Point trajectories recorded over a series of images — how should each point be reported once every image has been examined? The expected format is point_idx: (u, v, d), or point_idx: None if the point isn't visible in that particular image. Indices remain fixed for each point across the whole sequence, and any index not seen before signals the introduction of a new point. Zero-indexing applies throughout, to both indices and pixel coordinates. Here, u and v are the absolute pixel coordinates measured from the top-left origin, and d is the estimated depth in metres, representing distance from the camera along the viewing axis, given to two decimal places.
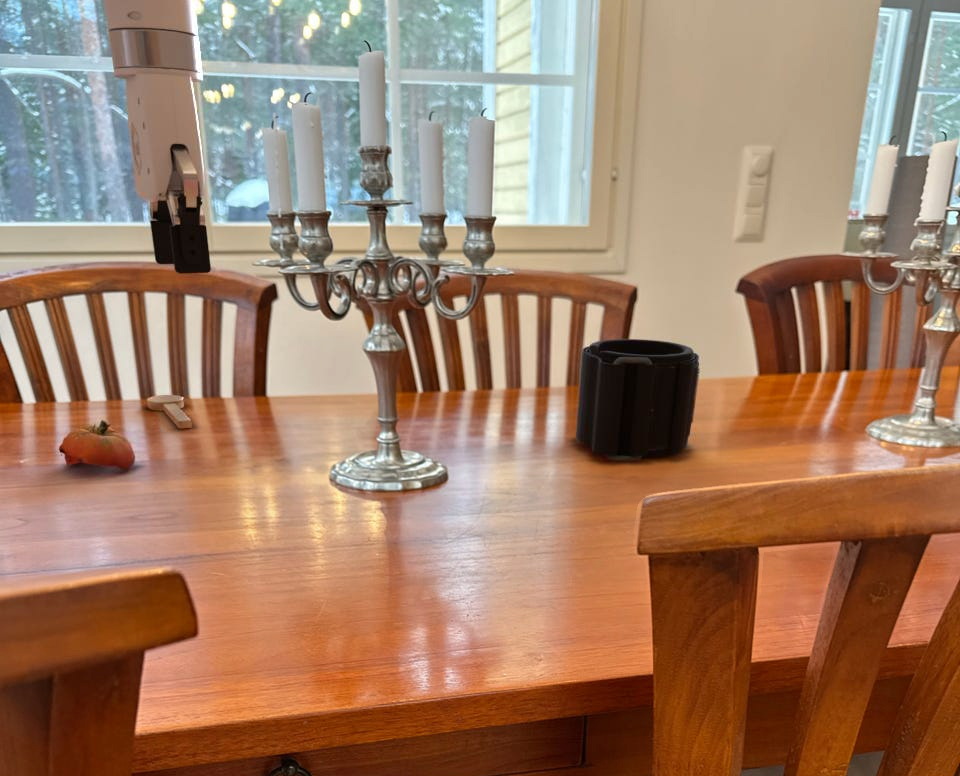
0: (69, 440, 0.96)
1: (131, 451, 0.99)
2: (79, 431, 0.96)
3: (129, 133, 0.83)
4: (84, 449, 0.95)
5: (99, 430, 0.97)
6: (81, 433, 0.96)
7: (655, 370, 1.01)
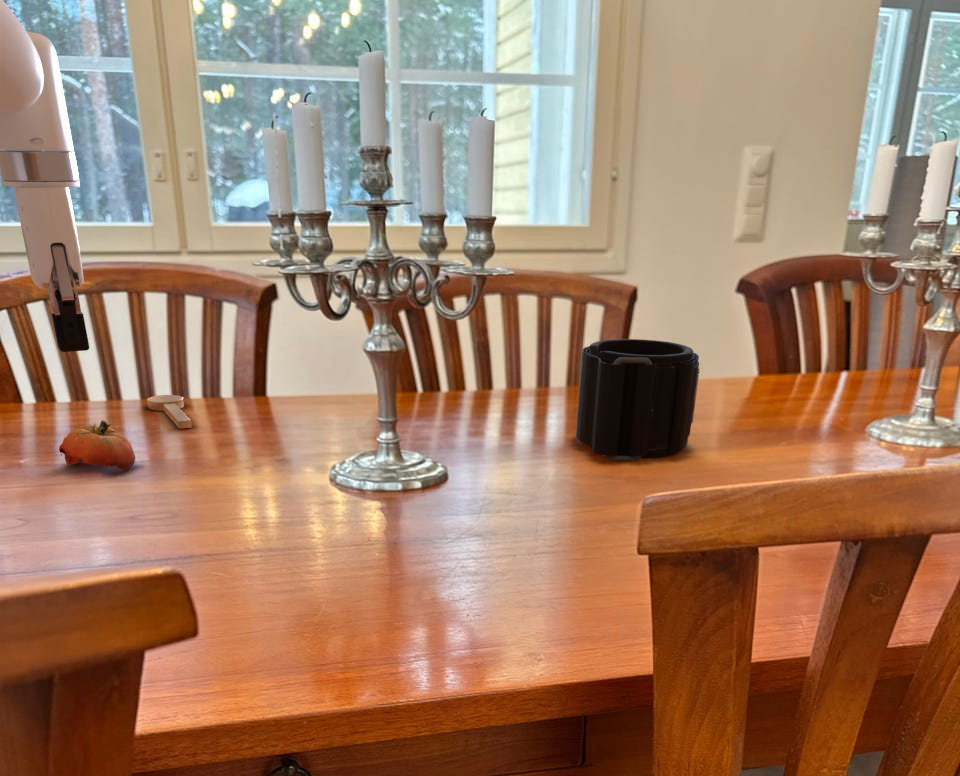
0: (69, 439, 0.96)
1: (131, 451, 0.99)
2: (79, 431, 0.96)
3: None
4: (84, 449, 0.95)
5: (99, 430, 0.97)
6: (81, 433, 0.96)
7: (655, 370, 1.01)
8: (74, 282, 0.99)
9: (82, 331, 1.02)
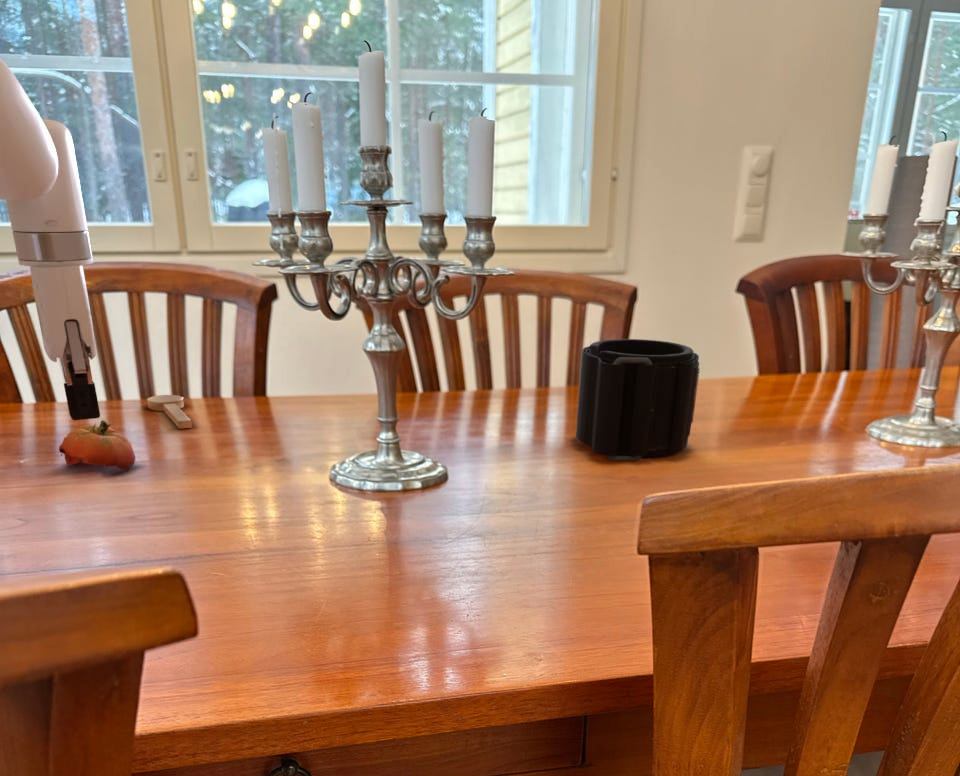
0: (69, 440, 0.96)
1: (131, 451, 0.99)
2: (79, 431, 0.96)
3: None
4: (84, 449, 0.95)
5: (99, 430, 0.97)
6: (81, 433, 0.96)
7: (655, 370, 1.01)
8: (86, 354, 1.01)
9: (93, 400, 1.05)
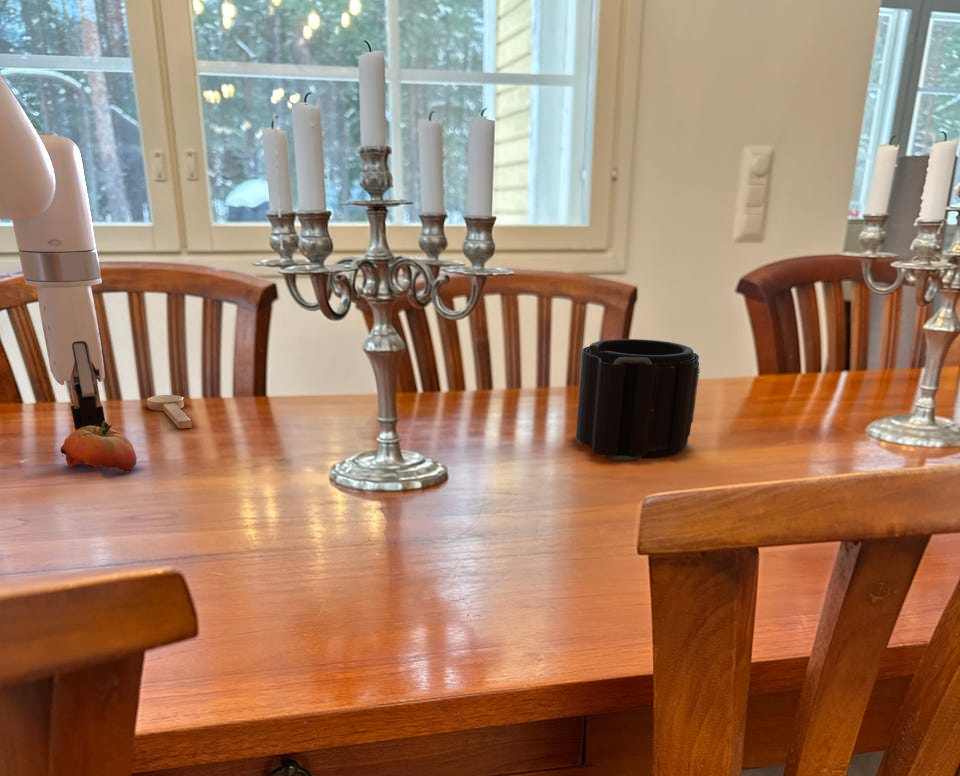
0: (71, 441, 0.95)
1: (133, 452, 0.98)
2: (80, 432, 0.96)
3: None
4: (85, 450, 0.95)
5: (101, 431, 0.97)
6: (82, 434, 0.96)
7: (655, 370, 1.01)
8: (94, 377, 0.98)
9: (101, 423, 1.02)
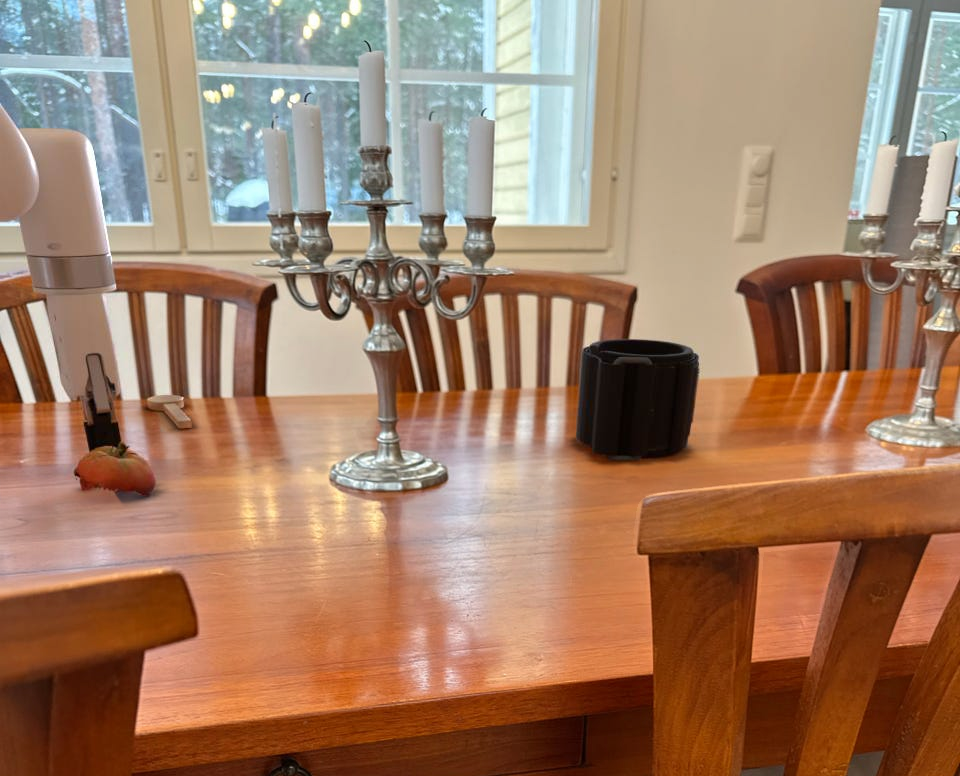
0: (85, 463, 0.88)
1: (151, 475, 0.91)
2: (96, 453, 0.89)
3: None
4: (100, 474, 0.88)
5: (117, 452, 0.90)
6: (98, 456, 0.89)
7: (655, 370, 1.01)
8: (109, 391, 0.91)
9: (116, 440, 0.94)
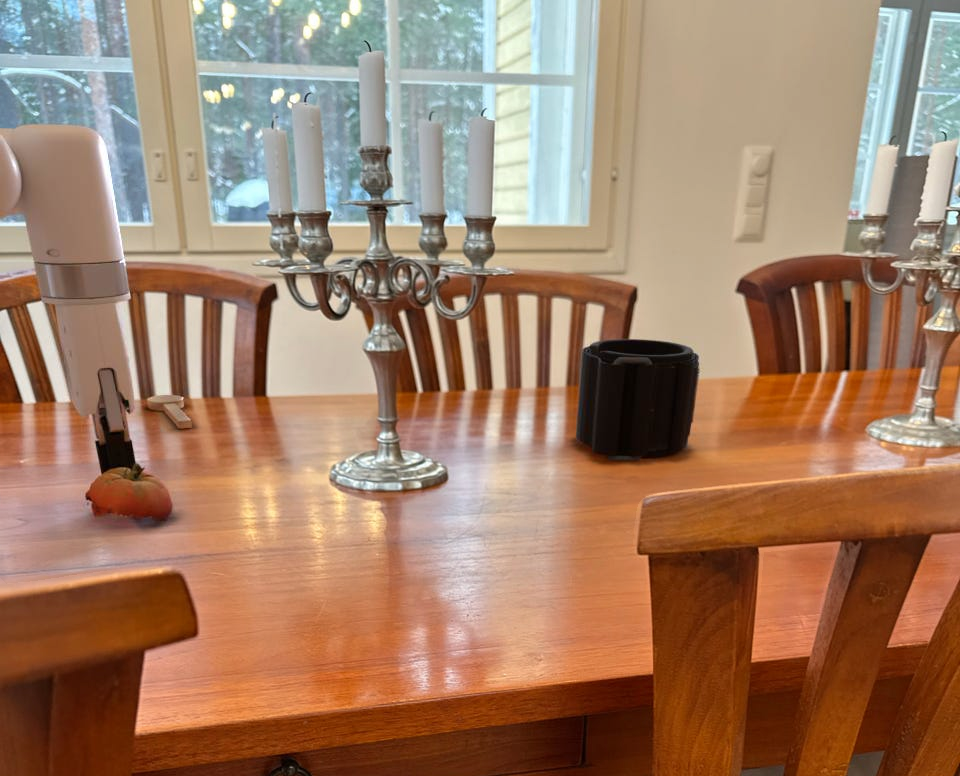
0: (97, 486, 0.82)
1: (168, 498, 0.85)
2: (109, 476, 0.83)
3: None
4: (114, 498, 0.81)
5: (132, 475, 0.83)
6: (111, 479, 0.82)
7: (655, 370, 1.01)
8: (123, 407, 0.84)
9: (130, 460, 0.88)
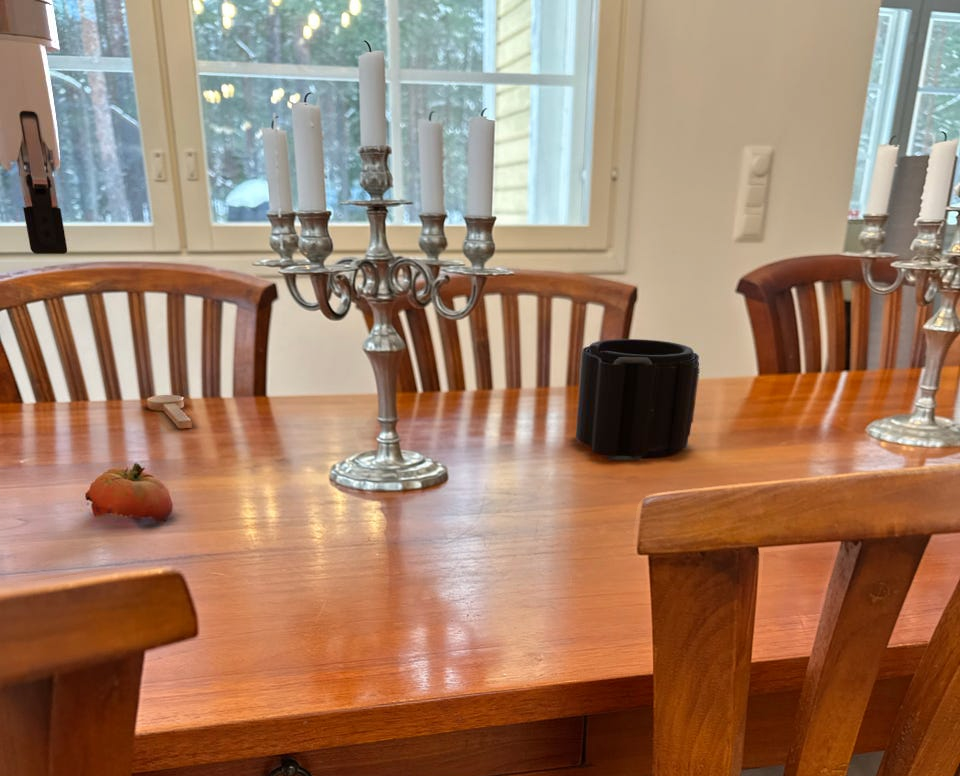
0: (97, 486, 0.82)
1: (168, 499, 0.85)
2: (109, 476, 0.82)
3: None
4: (114, 499, 0.81)
5: (132, 475, 0.83)
6: (111, 479, 0.82)
7: (655, 370, 1.01)
8: (49, 166, 0.83)
9: (59, 230, 0.86)
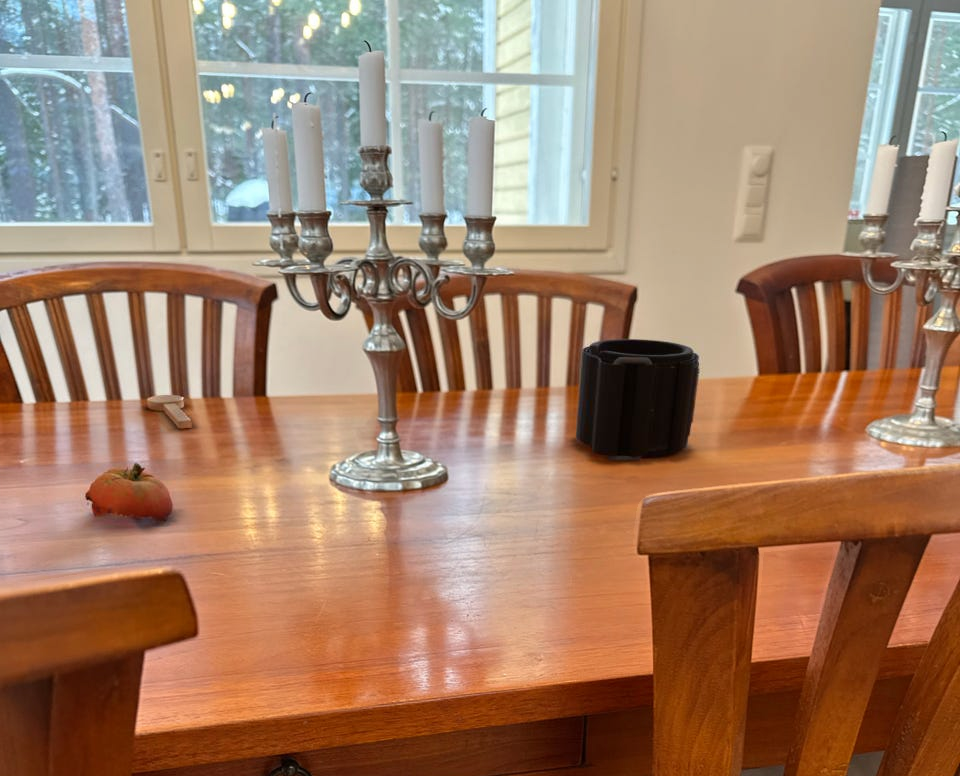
0: (97, 486, 0.82)
1: (168, 499, 0.85)
2: (109, 476, 0.82)
3: None
4: (114, 499, 0.81)
5: (132, 475, 0.83)
6: (111, 479, 0.82)
7: (655, 370, 1.01)
8: None
9: None
